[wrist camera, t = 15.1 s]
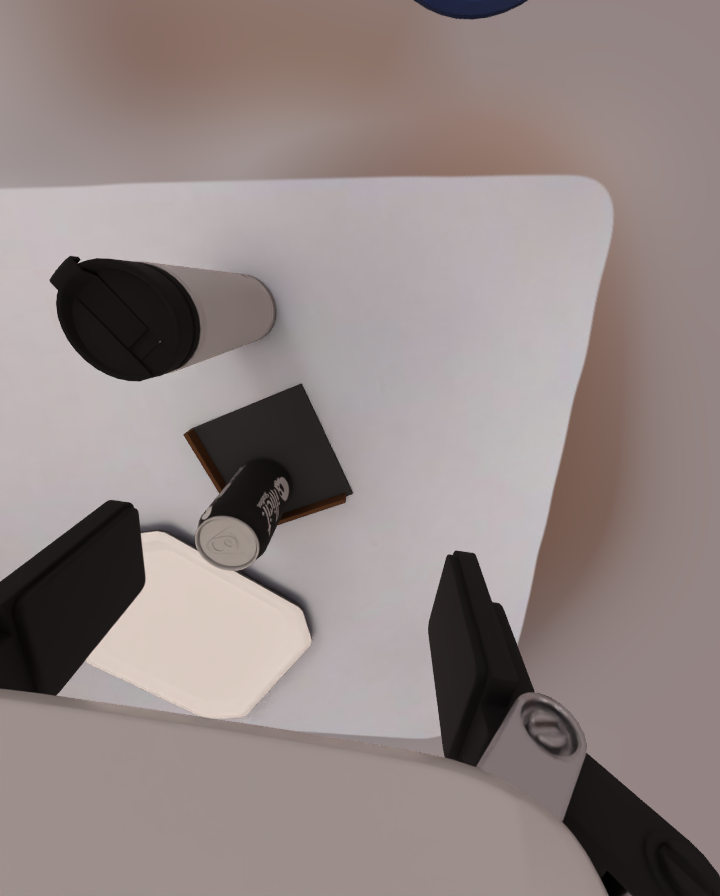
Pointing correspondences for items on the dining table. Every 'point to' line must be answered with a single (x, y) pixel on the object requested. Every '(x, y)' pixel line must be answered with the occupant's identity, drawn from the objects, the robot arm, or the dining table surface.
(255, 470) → the beverage can
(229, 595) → the plate
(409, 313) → the dining table surface
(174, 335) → the travel mug
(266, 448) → the corner mat
